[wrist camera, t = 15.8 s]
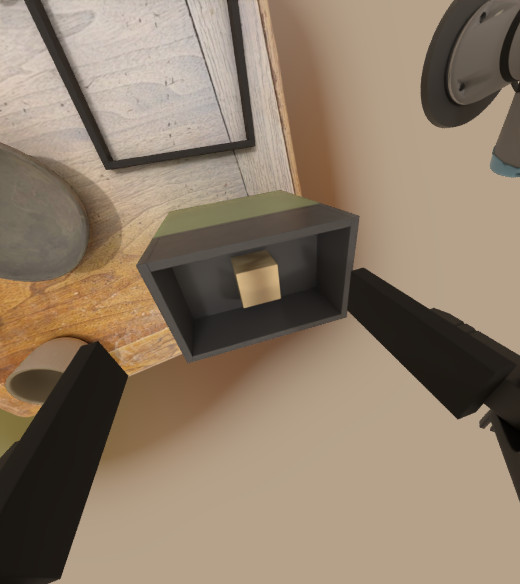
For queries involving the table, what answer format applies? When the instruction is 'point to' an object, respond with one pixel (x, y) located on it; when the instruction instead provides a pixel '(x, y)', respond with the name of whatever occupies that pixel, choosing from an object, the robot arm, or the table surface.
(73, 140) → the table surface
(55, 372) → the planter
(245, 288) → the toy block
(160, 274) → the bin
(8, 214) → the bowl
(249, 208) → the stand
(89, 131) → the rim tray
